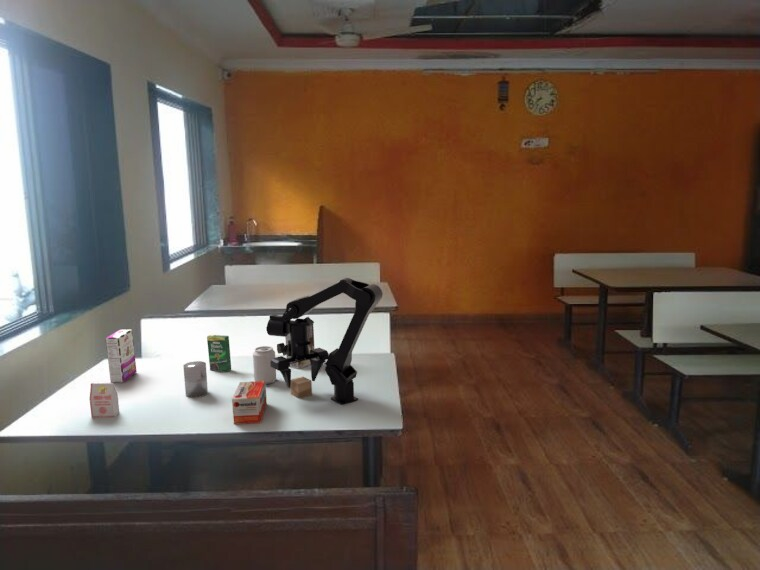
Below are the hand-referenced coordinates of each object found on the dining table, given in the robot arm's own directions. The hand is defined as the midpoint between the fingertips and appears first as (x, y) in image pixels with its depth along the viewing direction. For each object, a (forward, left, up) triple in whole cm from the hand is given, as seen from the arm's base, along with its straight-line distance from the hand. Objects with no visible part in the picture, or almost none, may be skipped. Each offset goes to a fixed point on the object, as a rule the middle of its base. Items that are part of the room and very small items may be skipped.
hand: (301, 384), depth 194 cm
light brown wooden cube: (0, 0, -4) cm, 4 cm away
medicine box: (-4, +20, -4) cm, 21 cm away
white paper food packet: (+24, +54, -4) cm, 59 cm away
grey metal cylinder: (+23, +26, -4) cm, 35 cm away
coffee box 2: (+27, -16, -4) cm, 32 cm away
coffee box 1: (+41, +10, -4) cm, 42 cm away
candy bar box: (+56, +40, -4) cm, 69 cm away
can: (+19, +3, -4) cm, 20 cm away
